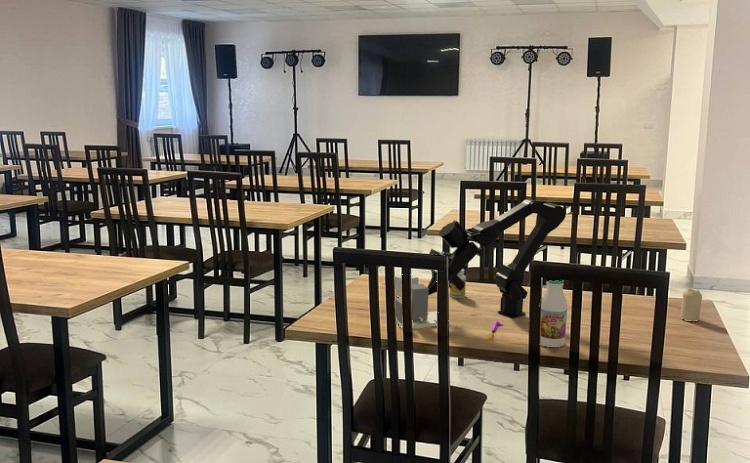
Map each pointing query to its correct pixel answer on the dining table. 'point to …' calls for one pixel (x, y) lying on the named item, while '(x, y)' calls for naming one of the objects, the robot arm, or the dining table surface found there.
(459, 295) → the supplement bottle
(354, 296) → the dining table surface
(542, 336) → the milk bottle
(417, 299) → the gray block
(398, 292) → the product box
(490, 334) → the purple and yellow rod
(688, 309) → the candle
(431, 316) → the plate
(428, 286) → the robot arm
